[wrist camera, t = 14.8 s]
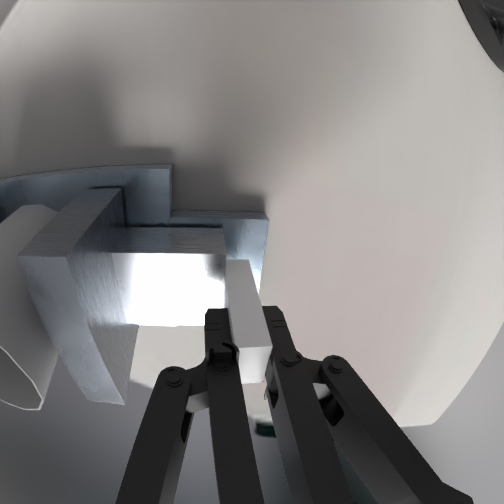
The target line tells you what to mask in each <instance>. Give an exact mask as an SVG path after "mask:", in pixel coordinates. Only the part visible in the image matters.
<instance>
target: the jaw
mask: <svg viewBox="0 0 504 504" xmlns="http://www.w3.org/2000/svg"><path fill="white" fill-rule="evenodd" d="M226 257H227V253H226V246H225V238H224V231H223V228H165V227H125V219H124V208H123V196H122V188H107V189H87V190H83V191H82V192H81V193H80V194H79V195H78V196H76V197H75V198H74V199H73V200H72V201H71V202H70V203H68V204H67V205H66V206H65V207H64V208H63V209H62V210H61V211H60V212H59V213H57V214H56V215H55V216H54V217H53V218H52V219H51V220H50V221H49V222H48V223H47V224H46V225H45V226H44V227H43V228H42V229H41V230H40V231H39V232H38V233H37V234H36V235H35V236H34V237H33V238H32V239H31V240H30V241H29V242H28V243H27V245H26V246H25V247H24V248H23V249H22V250H21V251H20V252H19V253H18V255H17V260H18V263H19V266H20V269H21V272H22V274H23V277H24V280H25V283H26V285H27V288H28V290H29V293H30V295H31V298H32V300H33V303H34V305H35V307H36V309H37V312H38V314H39V316H40V318H41V320H42V323H43V325H44V327H45V329H46V331H47V333H48V335H49V337H50V339H51V340H52V342H53V344H54V346H55V348H56V350H57V352H58V353H59V355H60V357H61V359H62V360H63V362H64V364H65V365H66V367H67V369H68V370H69V372H70V374H71V375H72V377H73V378H74V380H75V382H76V383H77V385H78V386H79V388H80V389H81V391H82V392H83V394H84V395H85V396H86V398H87V399H88V400H91V401H97V402H103V403H111V404H119V405H126V398H127V390H128V384H129V378H130V371H131V365H132V359H133V354H134V348H135V343H136V338H137V333H138V328H139V324H163V325H204V314H205V313H206V311H207V309H208V308H224V292H225V274H226Z"/></svg>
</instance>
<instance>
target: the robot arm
mask: <svg viewBox="0 0 504 504" xmlns="http://www.w3.org/2000/svg"><path fill="white" fill-rule="evenodd" d="M459 1H460V3H461V6H462V8H463V10H464V12H465V15H466V17H467V19H468V21H469V23H470V25H471V27H472V29H473V31H474V33H475V34H476V36H477V38H478V40H479V41H480V43H481V45H482V46H483V48H484V49H485V51H486V53H487V54H488V55H489V57H490V58H491V60H492V61H493V62H494V63H495V64H496V66H497V67H498V68H499V69H500V70H501V71H503V72H504V0H459ZM204 331H205V359H204V361H203V362H202V363H201V364H200V365H198V366H197V367H194V368H191V369H188V370H185V369H183V368H181V367H177V366H171V367H167V368H165V369H164V370H162V371H161V372H160V374H159V376H158V378H157V381H156V384H155V386H154V389H153V392H152V395H151V397H150V400H149V403H148V405H147V408H146V411H145V414H144V417H143V420H142V423H141V425H140V428H139V431H138V434H137V437H136V440H135V443H134V446H133V449H132V452H131V455H130V458H129V461H128V464H127V467H126V471H125V474H124V477H123V480H122V483H121V487H120V490H119V493H118V497H117V500H116V504H173V502H174V498H175V493H176V489H177V484H178V479H179V475H180V471H181V467H182V462H183V458H184V453H185V450H186V445H187V441H188V437H189V433H190V429H191V424H192V420H193V416H194V412H195V411H199V410H202V409H204V408H208V407H209V415H210V426H211V436H212V446H213V454H214V464H215V472H216V480H217V487H218V495H219V501H220V504H264V499H263V495H262V490H261V485H260V480H259V475H258V470H257V466H256V460H255V455H254V450H253V445H252V439H251V434H250V429H249V423H248V417H247V412H246V406H245V400H244V394H243V389H242V384H243V383H257V382H264V379H265V377H266V381H267V387H266V390H265V394H264V400H265V399H266V398H268V403H269V407H270V411H271V416H272V420H273V425H274V429H275V433H276V437H277V442H278V446H279V450H280V454H281V459H282V463H283V467H284V471H285V475H286V479H287V483H288V487H289V491H290V495H291V499H292V503H293V504H358V503H356V502H355V501H354V500H353V499H352V496H351V493H350V490H349V487H348V484H347V481H346V479H345V475H344V472H343V469H342V466H341V463H340V461H339V457H338V454H337V451H336V449H335V446H334V443H333V440H332V437H333V439H334V440H335V442H336V443H337V445H338V446H339V448H340V449H341V451H342V452H343V454H344V455H345V457H346V458H347V460H348V461H349V462H350V464H351V465H352V467H353V468H354V470H355V471H356V473H357V474H358V475H359V477H360V478H361V480H362V481H363V483H364V484H365V485H366V487H367V488H368V489H369V491H370V492H371V494H372V495H373V497H374V498H375V500H376V501H377V502H378V504H474V503H473V500H472V498H471V497H470V496H468V495H466V494H464V493H462V492H460V491H458V490H456V489H454V488H453V487H451V486H449V485H447V484H445V483H443V482H442V481H441V480H440V478H439V477H438V476H437V475H436V473H435V472H434V471H433V469H432V468H431V467H430V466H429V464H428V463H427V462H426V460H425V459H424V458H423V457H422V455H421V454H420V453H419V451H418V450H417V449H416V448H415V446H414V445H413V444H412V443H411V441H410V440H409V439H408V437H407V436H406V435H405V434H404V433H403V431H402V430H401V429H400V427H399V426H398V425H397V423H396V422H395V421H394V420H393V418H392V417H391V416H390V415H389V413H388V412H387V411H386V410H385V408H384V407H383V406H382V405H381V403H380V402H379V401H378V399H377V398H376V397H375V396H374V394H373V393H372V392H371V391H370V389H369V388H368V387H367V386H366V384H365V383H364V382H363V381H362V379H361V378H360V377H359V376H358V374H357V373H356V372H355V371H354V369H353V368H352V367H351V366H350V364H349V363H348V362H347V361H346V360H345V359H344V358H342V357H340V356H336V355H331V356H328V357H326V358H324V360H323V361H317V360H311V359H307V358H305V357H303V356H302V355H301V354H300V353H299V352H298V351H296V349H295V346H294V344H293V341H292V338H291V335H290V332H289V329H288V327H287V323H286V321H285V318H284V315H283V312H282V311H281V310H280V309H279V308H278V307H277V306H261V302H260V298H259V295H258V291H257V287H256V284H255V280H254V276H253V273H252V269H251V265H250V262H249V259H226V274H225V292H224V308H208V309H207V311H206V313H205V314H204ZM331 436H332V437H331Z"/></svg>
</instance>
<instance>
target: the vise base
mask: <svg viewBox="0 0 504 504" xmlns="http://www.w3.org/2000/svg"><path fill="white" fill-rule="evenodd" d="M107 188H122V196H123V208H124V219H125V227H165V228H223V231H224V238H225V246H226V253H227V257H226V259H249V262H250V265H251V269H252V273H253V276H254V280H255V284H256V287H257V291H258V292H259V286H260V279H261V272H262V265H263V258H264V251H265V244H266V237H267V229H268V222H269V219H268V217H267V215H266V213H265V212H239V211H196V210H172V164H147V165H120V166H103V167H89V168H78V169H68V170H58V171H50V172H42V173H35V174H28V175H22V176H16V177H10V178H4V179H0V223H2V222H3V221H4V220H5V219H6V218H7V217H9V216H10V215H11V214H12V213H14V212H15V211H16V210H17V209H19V208H20V207H21V206H25V205H36V204H42V205H44V206H46V207H48V208H50V209H52V210H54V211H57V212H60V211H61V210H62V209H63V208H64V207H65V206H66V205H67V204H68V203H70V202H71V201H72V200H73V199H74V198H75V197H76V196H78V195H79V194H80V193H81V192H82V191H83V190H87V189H107ZM139 325H156V326H177V325H163V324H139Z"/></svg>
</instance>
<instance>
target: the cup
mask: <svg viewBox="0 0 504 504" xmlns="http://www.w3.org/2000/svg"><path fill="white" fill-rule="evenodd" d="M57 213H59V212H57V211H54V210H52V209H50V208H48V207H46V206H44V205H42V204H36V205H25V206H21V207H20V208H19V209H17V210H16V211H15V212H14V213H12V214H11V215H10V216H9V217H7V218H6V219H5V220H4V221H3V222H2V223H0V400H2V401H3V402H5V403H8V404H10V405H13V406H16V407H18V408H21V409H24V410H40V408H41V406H42V404H43V402H44V399H45V396H46V392H47V389H48V386H49V382H50V379H51V376H52V373H53V370H54V367H55V364H56V362H57V359H58V356H59V353H58V352H57V350H56V348H55V346H54V344H53V342H52V340H51V339H50V337H49V335H48V333H47V331H46V329H45V327H44V325H43V323H42V320H41V318H40V316H39V314H38V312H37V309H36V307H35V305H34V303H33V300H32V298H31V295H30V293H29V290H28V288H27V285H26V283H25V280H24V277H23V274H22V272H21V269H20V266H19V263H18V260H17V255H18V253H19V252H20V251H21V250H22V249H23V248H24V247H25V246H26V245H27V243H28V242H29V241H30V240H31V239H32V238H33V237H34V236H35V235H36V234H37V233H38V232H39V231H40V230H41V229H42V228H43V227H44V226H45V225H46V224H47V223H48V222H49V221H50V220H51V219H52V218H53V217H54V216H55V215H56V214H57Z"/></svg>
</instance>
